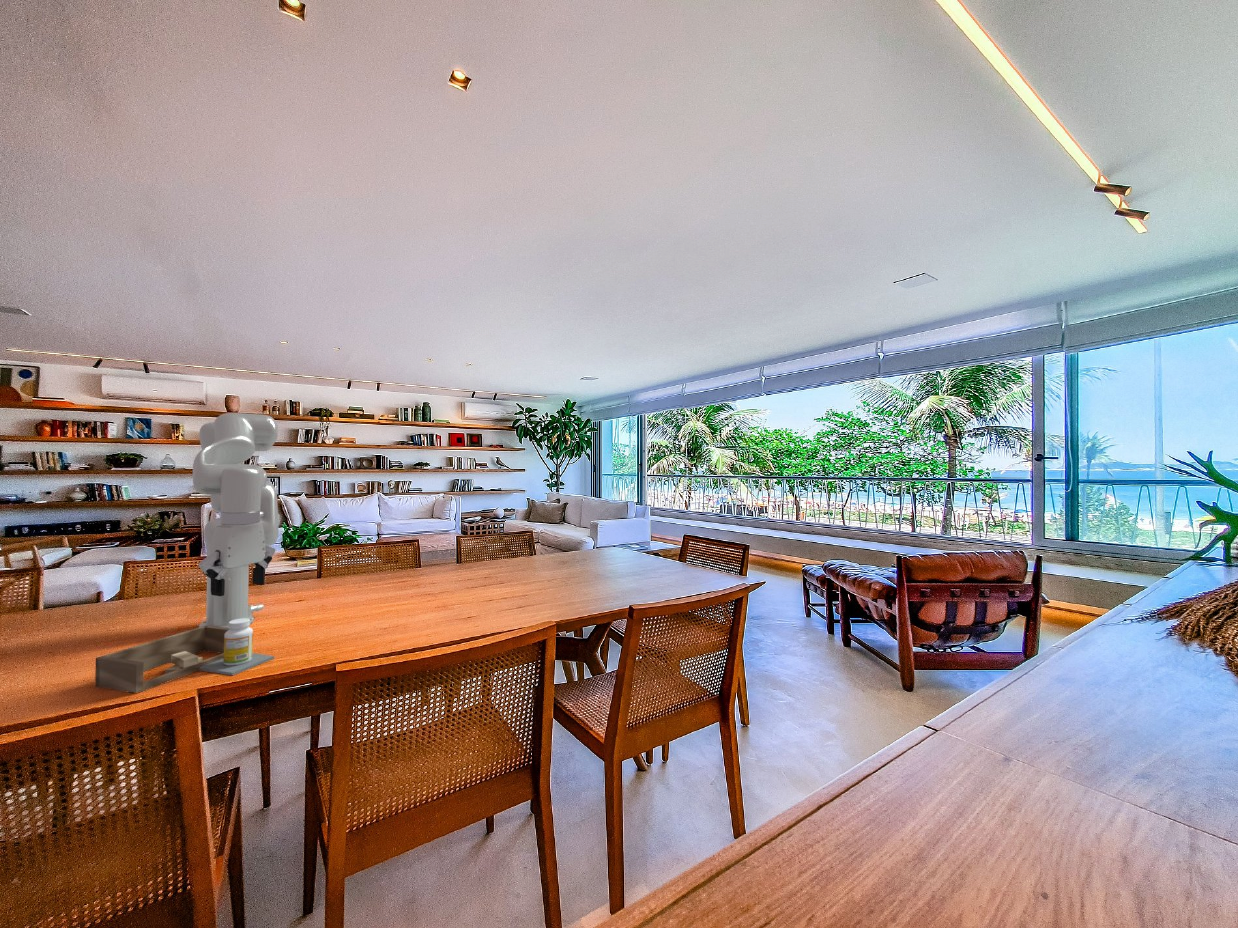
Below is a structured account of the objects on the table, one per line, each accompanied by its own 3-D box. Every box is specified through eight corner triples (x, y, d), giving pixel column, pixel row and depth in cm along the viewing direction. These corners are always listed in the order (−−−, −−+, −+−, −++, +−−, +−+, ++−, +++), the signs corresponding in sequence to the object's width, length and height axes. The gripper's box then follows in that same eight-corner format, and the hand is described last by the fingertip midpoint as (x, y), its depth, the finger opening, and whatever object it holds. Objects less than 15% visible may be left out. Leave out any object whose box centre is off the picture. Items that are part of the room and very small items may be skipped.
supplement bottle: (234, 656, 118) (235, 616, 118) (257, 657, 118) (258, 617, 118) (217, 666, 112) (218, 624, 112) (241, 666, 113) (243, 624, 113)
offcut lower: (190, 665, 115) (190, 657, 115) (202, 665, 115) (202, 656, 115) (164, 678, 108) (164, 669, 108) (177, 678, 108) (177, 669, 108)
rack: (206, 648, 124) (206, 625, 124) (242, 653, 121) (242, 629, 121) (95, 686, 103) (95, 657, 103) (135, 693, 100) (136, 664, 100)
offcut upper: (171, 662, 112) (171, 654, 112) (185, 658, 114) (185, 650, 114) (183, 667, 109) (183, 660, 109) (197, 663, 111) (197, 655, 111)
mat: (242, 653, 121) (242, 651, 121) (274, 658, 119) (274, 655, 119) (199, 670, 112) (199, 667, 112) (232, 675, 109) (232, 672, 109)
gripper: (263, 513, 125) (261, 579, 125) (188, 522, 108) (187, 598, 108) (286, 515, 123) (284, 582, 123) (214, 525, 106) (212, 602, 107)
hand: (238, 589), depth 116 cm, fingers open, 9 cm apart
